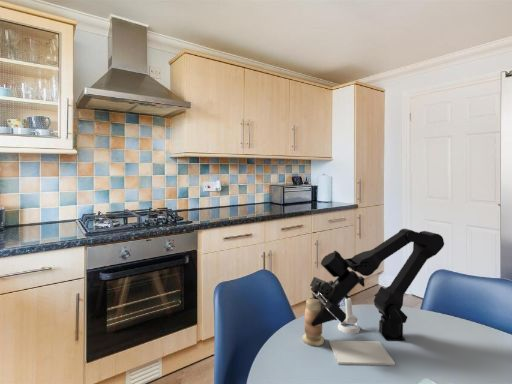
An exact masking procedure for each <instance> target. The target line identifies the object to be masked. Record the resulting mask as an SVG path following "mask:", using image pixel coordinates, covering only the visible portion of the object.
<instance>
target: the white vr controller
mask: <svg viewBox="0 0 512 384" xmlns="http://www.w3.org/2000/svg"><path fill="white" fill-rule="evenodd" d="M344 299H345V300H344V303H345V305H344V306H345V314H346V319H345V320H344V321H343V322H342V323H341V322H340V321H339V323H338V325H337V329H338V330H339V331H340V332H342V333H345V334H351V335H353V334H358V333H359V331H360V332H361V328H360V326H359V324H358V323H357V322H358V318H357V316H356V315H353V305H352V303H353V302H352V299H351V298H350V297H349V298H348V299H346V298H344ZM345 325H351V326H355V327H347V326H345Z"/></svg>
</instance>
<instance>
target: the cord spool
mask: <svg viewBox="0 0 512 384" xmlns="http://www.w3.org/2000/svg"><path fill="white" fill-rule="evenodd" d="M320 311H321V301H320V300H318V299H313V298H308V299H306V301H305V309H304V334H303V335H302V342H303V343H304V344H306V345H308V346H311V347H320V346H322V345H323V344H324V343H325V337H324V336H323V323H322V324H319V325H316V326H312V325H311V323H312V321H313V320H314V319H315V317H316V316H317V315H318V313H319V312H320Z"/></svg>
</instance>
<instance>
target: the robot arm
mask: <svg viewBox="0 0 512 384" xmlns="http://www.w3.org/2000/svg"><path fill="white" fill-rule="evenodd" d="M410 243H412V245H413V246H412V252H411V253H410V255H409V257H407V259H406V261H405V263H404V264H403V266H402V267H401V268H400V270H399V272H397V274H396V276H395V277H394V279H393V281H392V282H390V283H391V284H390V285H388V286H387V287H383V286H380V287H379V289H378V291H377V292H376V293H375V294H374V299H373V303H374V307H375V308H376V309H377V311H378V313H379V314H381V315H380V320H379V322H378V323H379V324H378V325H379V326H378V328H379V329H378V332H379V334H380V335H381V337H383V338H384V340H386V341H405V340H406V338H405V336H404V324H406V322H407V320H408V316H407V314H405V312H403V311H402V310H401V309H402V307H403V305H404V295H405V293H406V292H407V291H408V289H409V287H410V286H412V285H411V284H412V283H413V282H414V280H415V279H416V277H417V276H418V274H419V272H420V271H421V269H422V268H423V267H424V265H425V264H426V262H427V260H429V259H431V258H432V257H434V256H436V255H437V254H439V252H440V251H441V250H442V249H443V248H444V246H445V240H444V237H443V236H442V235H441V234H439V233H435V232H432V231H427V230H422V231H419V232H418V231H415V230H412V229H408V228H402V229H400V230H399V231H398V232H397V233H395V234H394V235H392V236H391V237H389V238H387V239H386V240H385V241H383V242H382V243H380V244H379V245H377V246H375V247H374V248H372V249H370V250H366V251H362V252H360V253H358V254H355V255H354V256H352V257H351V258H344V257H342V255H341V253H340V252H338V251H337V250H334V251H332V252H329V253H328V254H326V255H325V256H324V257H323V258H322V259H321V261H320V262H321V263H320V264H321V266H322V267H323V268H324V269H325V270H326V272H328V274H330V275H331V277H333V278H336V279H335V280H329V281H325V280H323V279H320V278H318V277H316V276H313V278H312V280H311V283H310V287H311V288H310V290H311V291H312V293H311V294H312V299H318V300H320V301H321V311H320V312H319V313H318V315H317V316H316V317H315V319H314V320H313V321H312V323H311V325H312V326H316V325H319V324H322V325H323V324H325V323H327V322H331V321H338V320H339V323H340V322H341V323H342V322H343V321H344V320H345V319H346V312H345V311H343V309H342V308H341V305H340V303H341V302H342V301H343V300H344V299H348V298H350V296H349V295H348V294H350V292H352V290H354V289H355V288H356V286H357V285H358V284H359V286H362V287H363V288H365V286H366V285H365V278H364V277H369V276H371V275H373V273H374V272H375V271H377V269H379V267H380V265H381V263H382V262H383V261H385V260H386V259H388V258H389V257H390V256H392V255H394V254H396V253H397V252H398V251H400V250H401V249H403V248H404V247H406V246H408V244H410ZM349 269H350V270H349ZM357 273H359V274H360V275H358V274H357ZM361 275H362V276H361ZM363 276H364V277H363Z"/></svg>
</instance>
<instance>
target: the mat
mask: <svg viewBox="0 0 512 384" xmlns="http://www.w3.org/2000/svg"><path fill="white" fill-rule="evenodd" d="M329 345H330V347H331V350H332V353H333V354H334V357H335V360H336V362H337V364H338V365H359V366H360V365H362V366H363V365H365V366H396V363H395V361H394V360H393V357H391V355H389V353H388V351H387V349H385V347H384V346H383V345H382V343H381V342H380V341H379V340H378V341H376V340H375V341H374V340H369V341H368V340H329Z"/></svg>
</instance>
